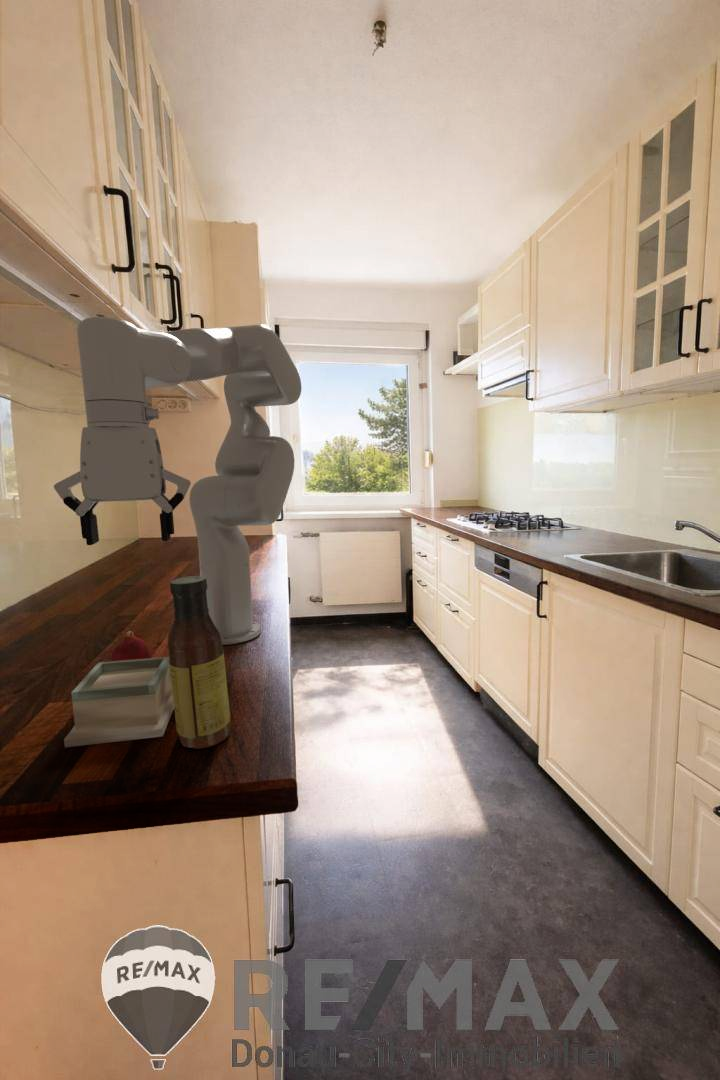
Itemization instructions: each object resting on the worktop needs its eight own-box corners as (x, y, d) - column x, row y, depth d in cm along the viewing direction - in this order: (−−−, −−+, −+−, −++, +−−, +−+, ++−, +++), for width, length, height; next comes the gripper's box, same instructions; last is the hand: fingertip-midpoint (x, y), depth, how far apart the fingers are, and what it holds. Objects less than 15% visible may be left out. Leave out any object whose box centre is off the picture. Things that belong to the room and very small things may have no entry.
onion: (155, 683, 74) (151, 634, 72) (114, 692, 71) (109, 641, 70) (151, 670, 79) (147, 623, 77) (112, 678, 76) (107, 630, 75)
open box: (99, 700, 68) (95, 659, 67) (180, 693, 70) (177, 652, 69) (64, 747, 57) (59, 698, 56) (162, 736, 59) (158, 688, 58)
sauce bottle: (236, 723, 61) (227, 572, 59) (224, 751, 55) (213, 584, 52) (184, 725, 61) (173, 573, 58) (166, 753, 55) (153, 585, 52)
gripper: (188, 420, 70) (197, 534, 73) (58, 420, 67) (72, 541, 69) (181, 414, 63) (191, 542, 66) (34, 414, 59) (51, 550, 62)
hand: (130, 541), depth 67 cm, fingers open, 9 cm apart
